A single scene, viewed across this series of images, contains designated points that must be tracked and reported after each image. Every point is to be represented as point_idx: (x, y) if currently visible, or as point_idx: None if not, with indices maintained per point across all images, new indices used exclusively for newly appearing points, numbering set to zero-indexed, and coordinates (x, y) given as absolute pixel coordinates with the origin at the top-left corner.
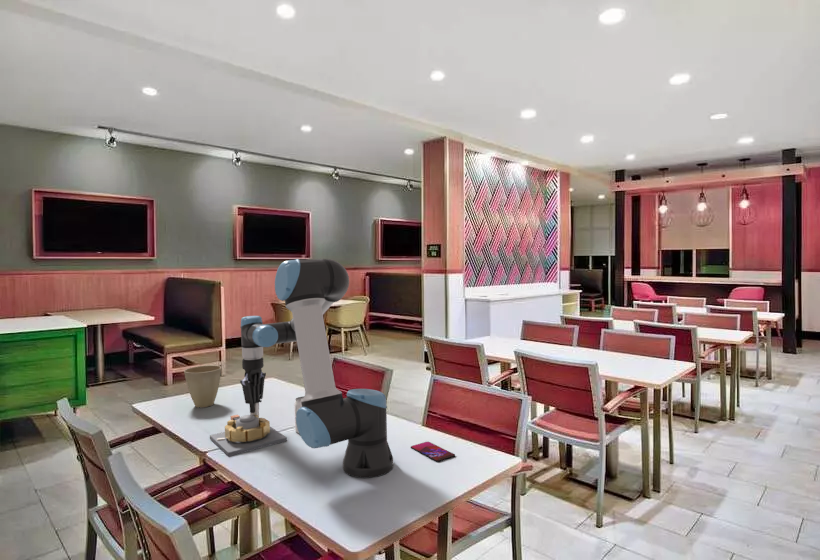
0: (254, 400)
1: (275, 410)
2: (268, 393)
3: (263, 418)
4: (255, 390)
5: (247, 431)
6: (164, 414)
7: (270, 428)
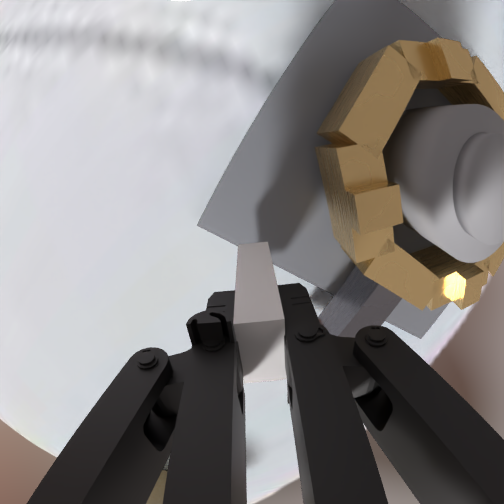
0: (323, 354)
1: (38, 312)
2: (12, 396)
3: (349, 129)
4: (315, 490)
5: None
6: (252, 490)
7: (278, 110)
